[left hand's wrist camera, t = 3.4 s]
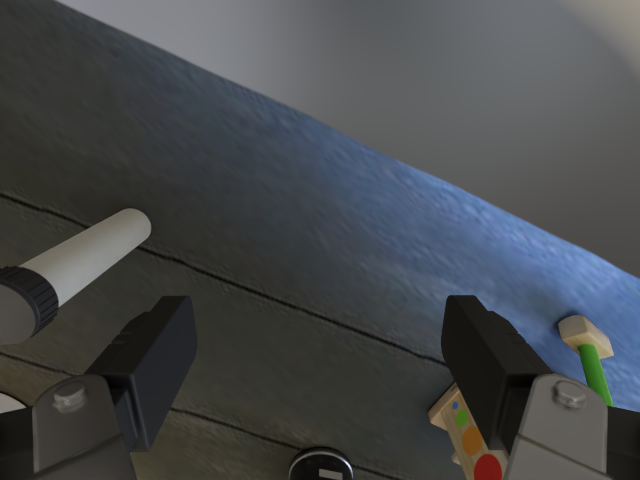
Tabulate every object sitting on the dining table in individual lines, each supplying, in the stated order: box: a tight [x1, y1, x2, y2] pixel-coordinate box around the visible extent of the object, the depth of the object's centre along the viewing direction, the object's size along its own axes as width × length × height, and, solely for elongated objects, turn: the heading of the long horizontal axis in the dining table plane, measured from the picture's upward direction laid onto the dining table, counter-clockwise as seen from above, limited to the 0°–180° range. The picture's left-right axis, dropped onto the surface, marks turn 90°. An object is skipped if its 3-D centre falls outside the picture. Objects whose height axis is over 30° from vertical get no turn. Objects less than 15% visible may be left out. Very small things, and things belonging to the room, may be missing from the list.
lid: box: [0, 266, 59, 345], centre depth 25 cm, size 5×5×2 cm
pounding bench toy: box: [428, 315, 614, 480], centre depth 40 cm, size 23×14×18 cm, turn 149°
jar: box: [18, 208, 151, 308], centre depth 33 cm, size 4×4×18 cm
